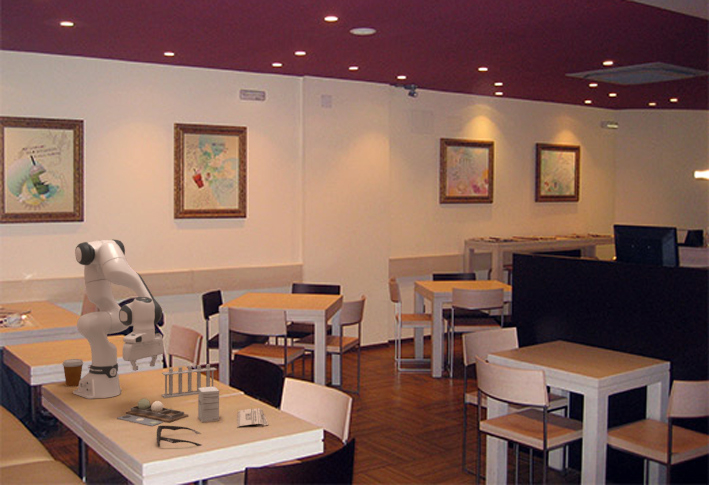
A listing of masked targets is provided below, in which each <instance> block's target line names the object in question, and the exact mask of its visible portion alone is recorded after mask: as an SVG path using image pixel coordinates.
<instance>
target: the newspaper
mask: <svg viewBox="0 0 709 485" xmlns="http://www.w3.org/2000/svg"><path fill="white" fill-rule="evenodd" d="M263 412H264V411H263V409H262V408H259V407H258V408H247V409H241V410H237V418H238V419H237V422H236V423H237V424H236V427H237V428H240V427H243V426H250V425H256V424H257V426H256V427H258V428H262V427H264V426H268V425H269V424H268V420H267V418H266V415H265V414H264V413H263Z"/></svg>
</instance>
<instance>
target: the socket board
mask: <svg viewBox="0 0 709 485" xmlns="http://www.w3.org/2000/svg"><path fill="white" fill-rule="evenodd" d="M151 405H152V404H150V407H149V408H148V409H145V410H141V409H139V408H138V405H135V406H132V407H130V410H128V411H127V410H126V414H125V415H128V414H129V415H134V416H138V417H143V418H147V419H152V420H157V421H161V422H163V423H167V424H168V423H169V424H170V423H173V422H176V421H178V420H182V419H185V418H188V417H189V414H187V413H185V411H181V410H177V409H171V408H167V407H163V410H162V411H161V412H158V413H155V412H152V410H151Z"/></svg>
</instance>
